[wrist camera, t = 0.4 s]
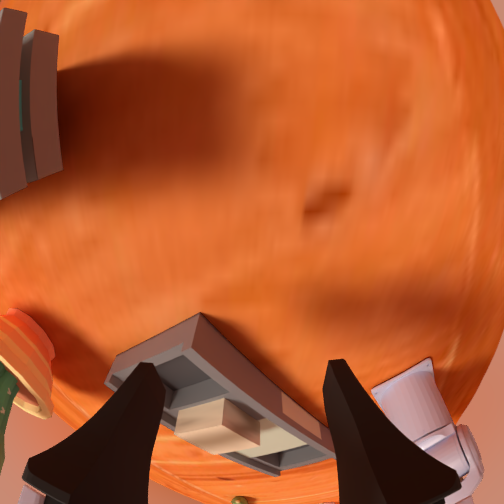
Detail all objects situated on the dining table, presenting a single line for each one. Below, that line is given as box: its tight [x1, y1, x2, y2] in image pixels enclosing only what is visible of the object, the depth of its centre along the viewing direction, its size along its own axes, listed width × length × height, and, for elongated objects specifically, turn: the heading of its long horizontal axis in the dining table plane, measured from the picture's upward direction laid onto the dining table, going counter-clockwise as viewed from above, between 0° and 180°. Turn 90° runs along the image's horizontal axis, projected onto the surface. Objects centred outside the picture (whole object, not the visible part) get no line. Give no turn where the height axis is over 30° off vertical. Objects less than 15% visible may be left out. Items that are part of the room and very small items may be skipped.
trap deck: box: [104, 313, 336, 477], centre depth 27 cm, size 32×12×4 cm, turn 34°
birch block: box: [174, 398, 260, 455], centre depth 23 cm, size 6×6×3 cm
